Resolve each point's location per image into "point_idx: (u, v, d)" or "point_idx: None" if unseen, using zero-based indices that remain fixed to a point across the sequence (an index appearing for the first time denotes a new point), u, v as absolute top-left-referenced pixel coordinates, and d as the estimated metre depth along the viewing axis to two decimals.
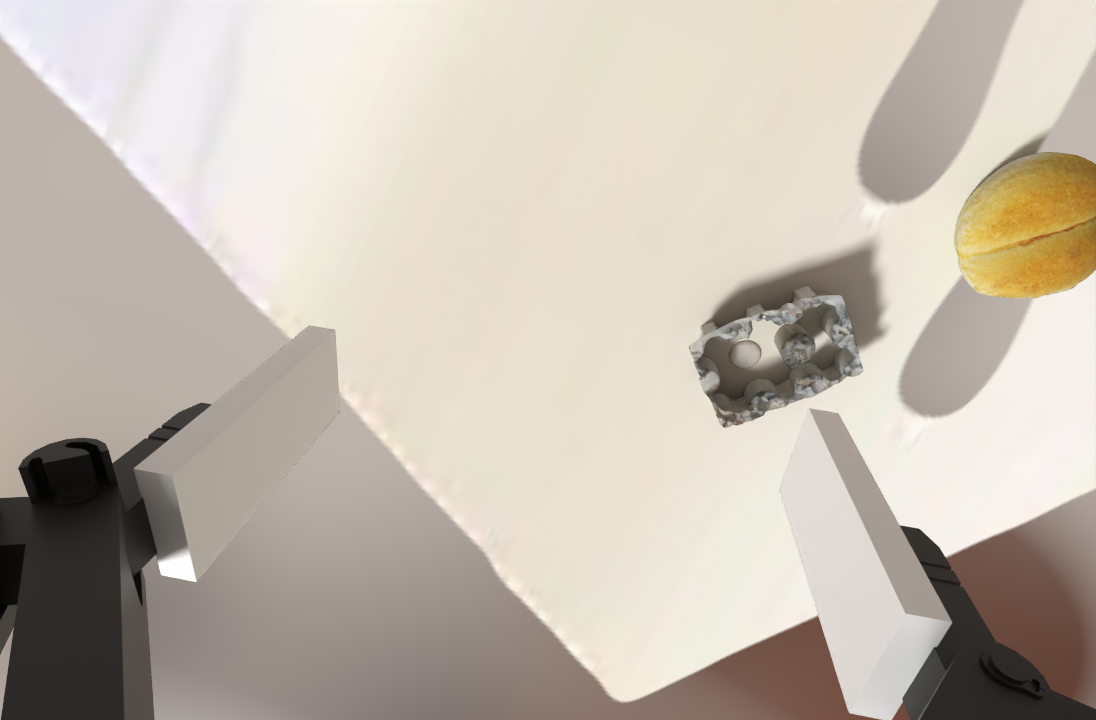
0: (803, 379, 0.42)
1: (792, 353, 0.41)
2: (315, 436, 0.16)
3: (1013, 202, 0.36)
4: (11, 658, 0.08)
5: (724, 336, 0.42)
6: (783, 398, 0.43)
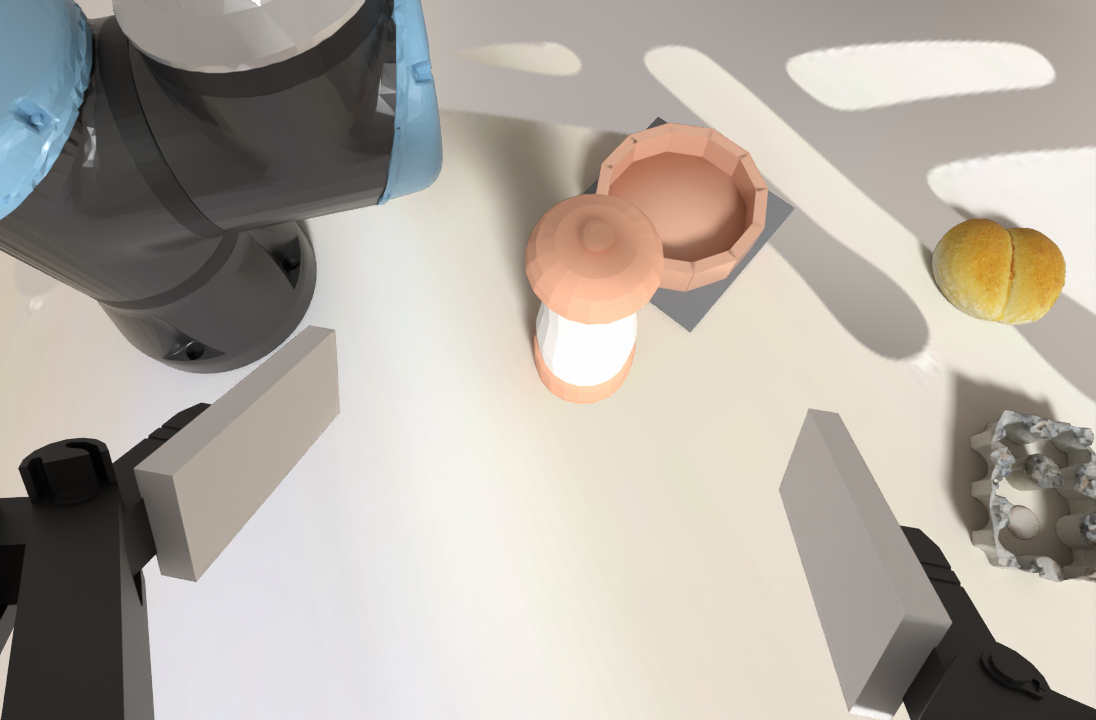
0: (1080, 482, 0.40)
1: (1047, 477, 0.40)
2: (315, 436, 0.16)
3: (974, 271, 0.44)
4: (11, 658, 0.08)
5: (1001, 525, 0.40)
6: None
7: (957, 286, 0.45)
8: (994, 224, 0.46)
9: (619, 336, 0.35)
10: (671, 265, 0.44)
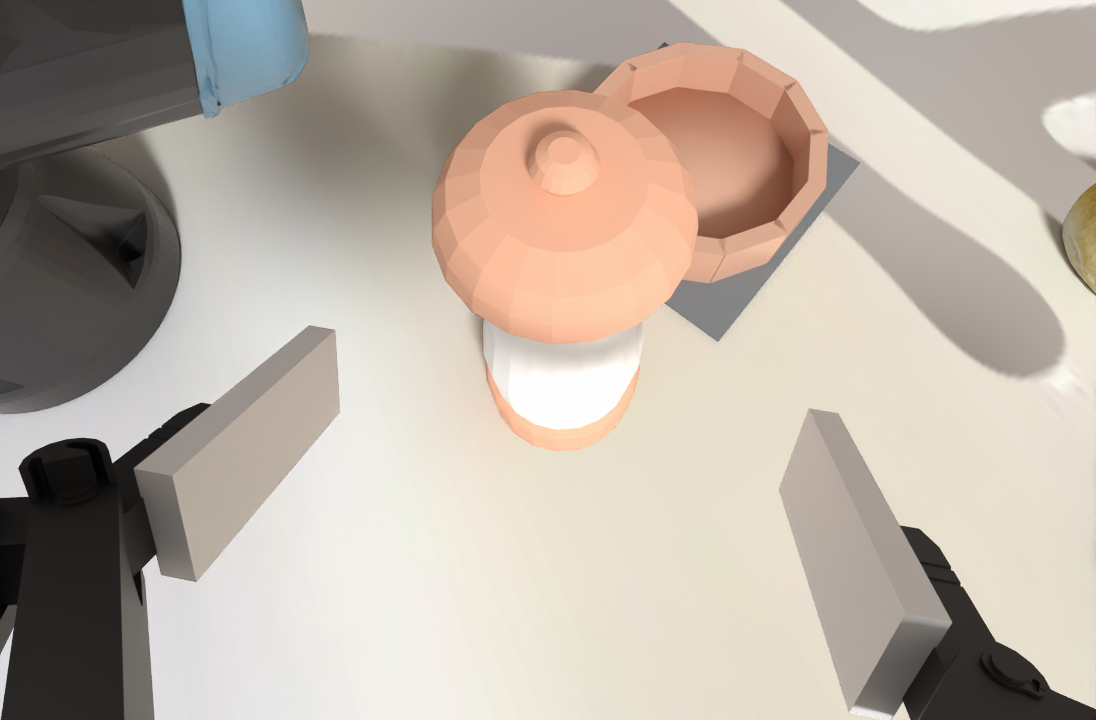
0: None
1: None
2: (315, 436, 0.16)
3: None
4: (11, 658, 0.08)
5: None
6: None
7: None
8: None
9: (614, 357, 0.21)
10: None
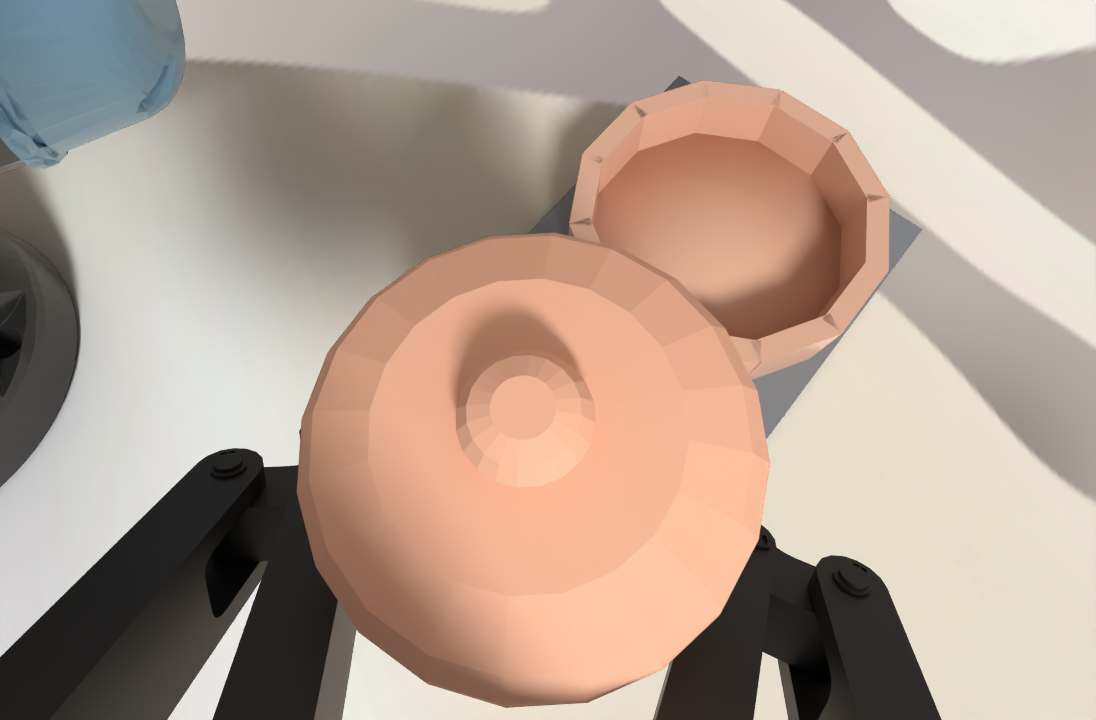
0: None
1: None
2: None
3: None
4: (256, 597, 0.09)
5: None
6: None
7: None
8: None
9: None
10: None
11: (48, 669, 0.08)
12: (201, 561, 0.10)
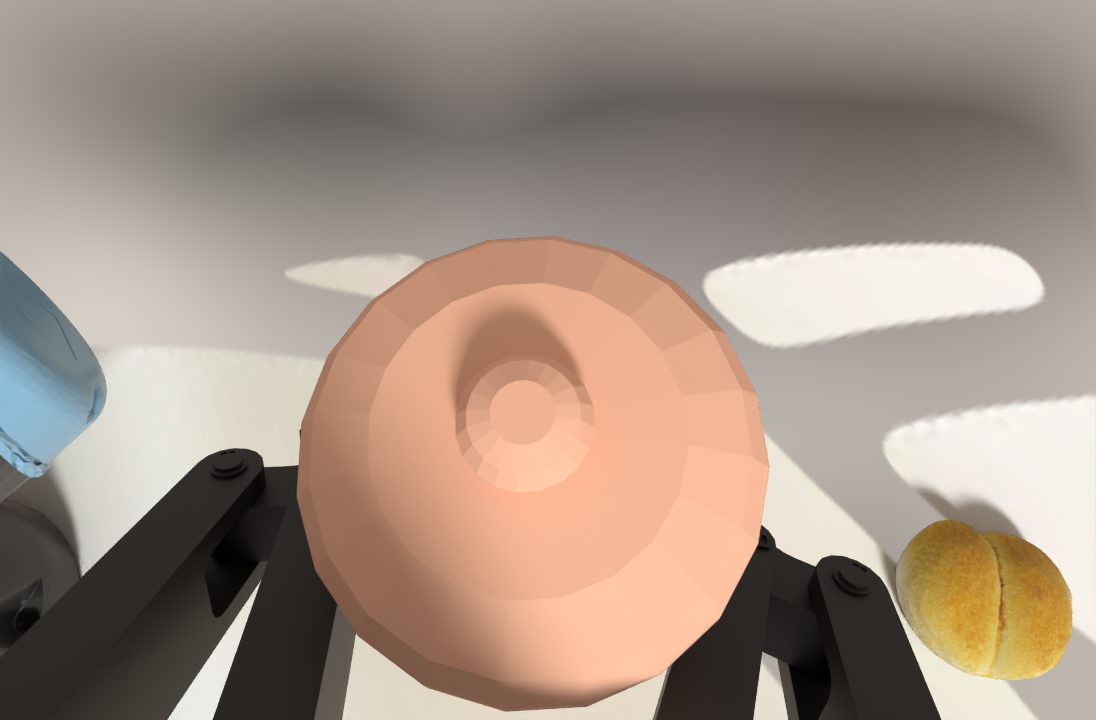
0: None
1: None
2: None
3: (950, 621, 0.33)
4: (256, 597, 0.09)
5: None
6: None
7: (929, 633, 0.34)
8: (975, 544, 0.34)
9: None
10: None
11: (49, 669, 0.08)
12: (202, 560, 0.10)
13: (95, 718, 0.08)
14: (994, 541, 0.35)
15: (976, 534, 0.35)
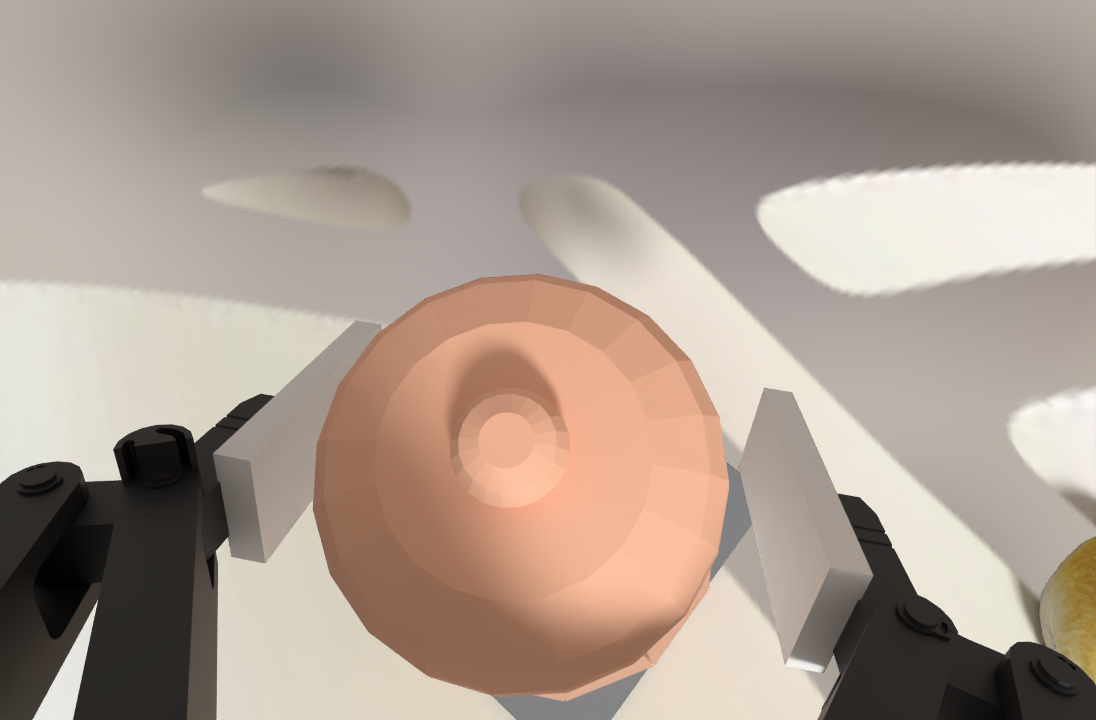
0: None
1: None
2: None
3: None
4: (93, 630, 0.08)
5: None
6: None
7: None
8: None
9: None
10: None
11: None
12: (28, 580, 0.09)
13: None
14: None
15: None
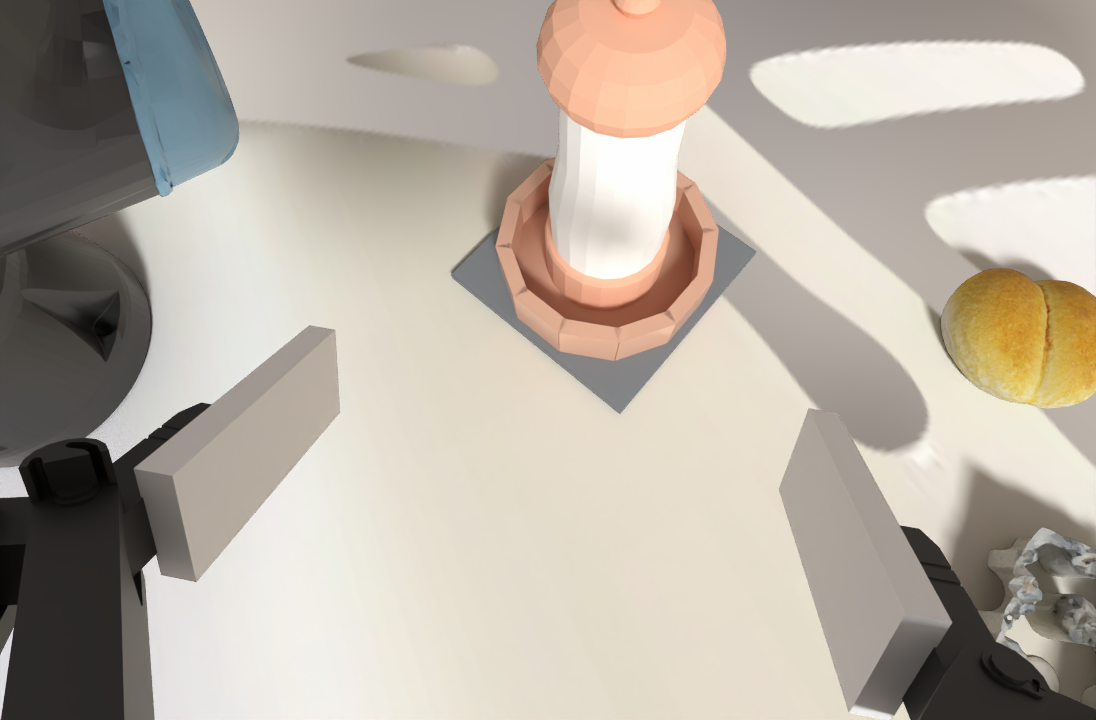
0: None
1: (1083, 629, 0.30)
2: (315, 436, 0.16)
3: (997, 341, 0.34)
4: (11, 658, 0.08)
5: None
6: None
7: (975, 359, 0.35)
8: (1022, 277, 0.35)
9: (657, 188, 0.27)
10: (590, 331, 0.34)
11: None
12: None
13: None
14: (1039, 283, 0.36)
15: (1022, 274, 0.36)
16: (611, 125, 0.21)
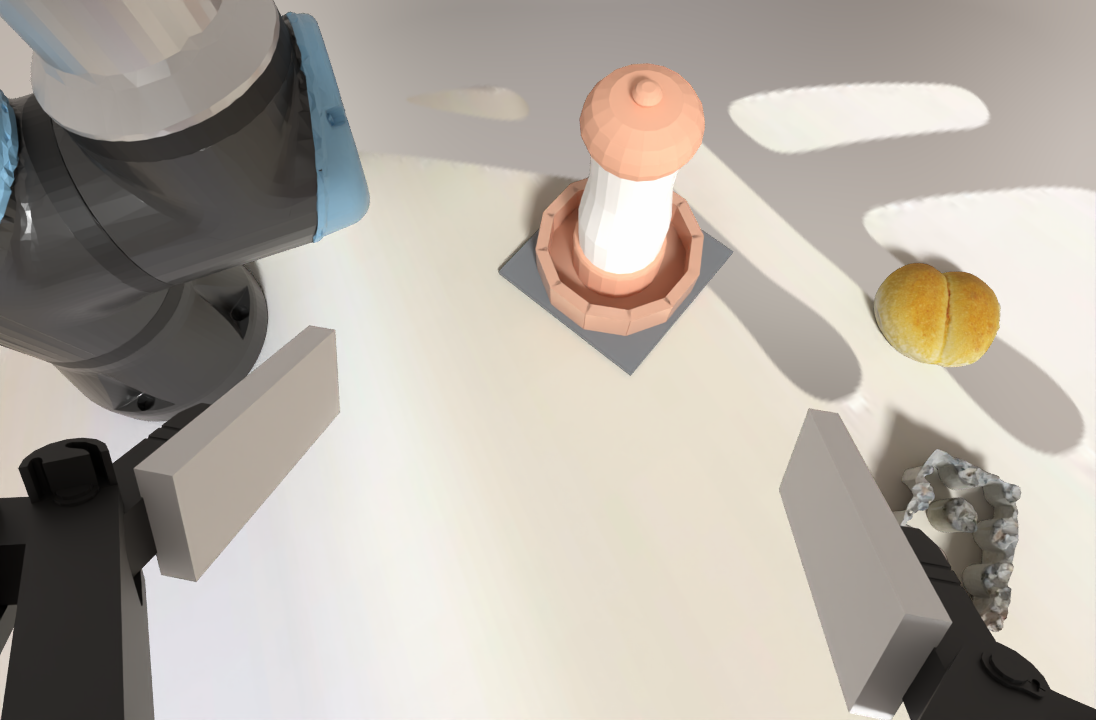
0: (994, 533, 0.42)
1: (962, 520, 0.42)
2: (315, 436, 0.16)
3: (911, 317, 0.46)
4: (11, 658, 0.08)
5: None
6: (1003, 562, 0.41)
7: (896, 331, 0.47)
8: (931, 270, 0.47)
9: (659, 210, 0.39)
10: (608, 313, 0.46)
11: None
12: None
13: None
14: (946, 274, 0.48)
15: (932, 267, 0.48)
16: (630, 174, 0.33)
